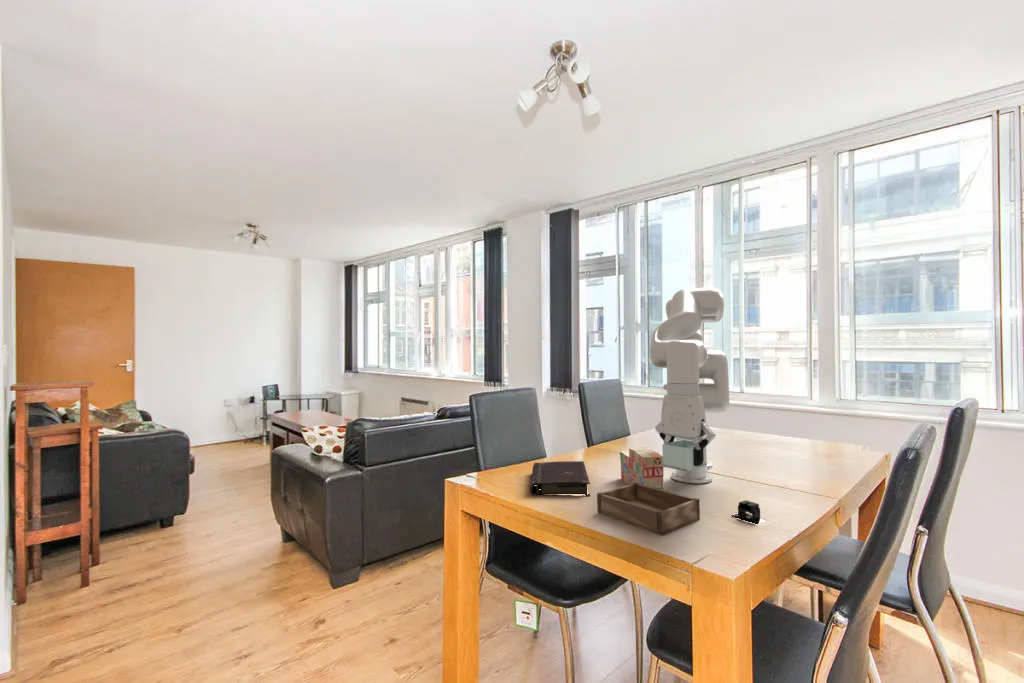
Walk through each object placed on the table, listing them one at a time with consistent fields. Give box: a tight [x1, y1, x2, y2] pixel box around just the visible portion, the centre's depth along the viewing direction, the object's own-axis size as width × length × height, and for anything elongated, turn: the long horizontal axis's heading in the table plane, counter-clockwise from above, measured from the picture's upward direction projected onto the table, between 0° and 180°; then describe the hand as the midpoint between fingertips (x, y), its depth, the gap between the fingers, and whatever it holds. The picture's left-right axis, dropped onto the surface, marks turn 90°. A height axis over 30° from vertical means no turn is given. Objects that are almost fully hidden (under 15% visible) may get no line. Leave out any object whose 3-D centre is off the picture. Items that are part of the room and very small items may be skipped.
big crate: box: [596, 482, 701, 536], centre depth 124 cm, size 16×20×5 cm
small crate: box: [661, 439, 708, 472], centre depth 118 cm, size 9×6×6 cm
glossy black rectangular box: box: [731, 500, 766, 524], centre depth 121 cm, size 12×7×5 cm, turn 30°
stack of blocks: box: [619, 447, 665, 491], centre depth 150 cm, size 21×6×12 cm, turn 5°
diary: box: [529, 460, 591, 497], centre depth 154 cm, size 19×25×5 cm
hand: (684, 461), depth 118 cm, fingers closed on small crate, 6 cm apart
